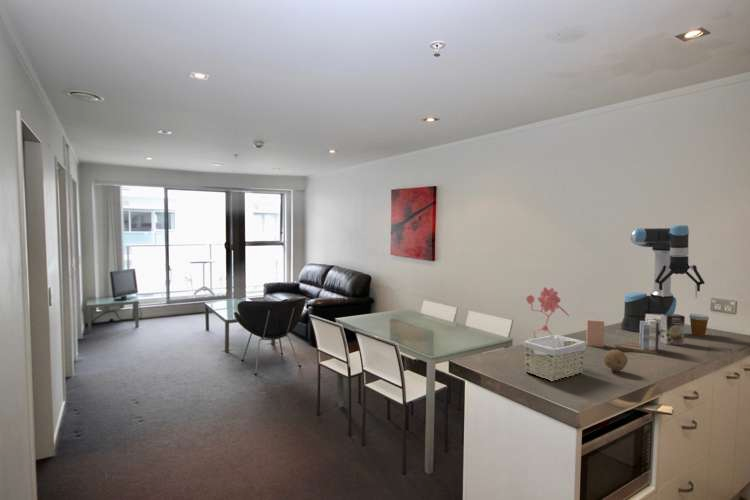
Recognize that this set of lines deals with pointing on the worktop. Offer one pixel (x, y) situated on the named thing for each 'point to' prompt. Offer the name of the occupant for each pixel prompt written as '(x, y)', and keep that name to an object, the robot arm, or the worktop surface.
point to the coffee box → (672, 329)
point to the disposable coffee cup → (698, 324)
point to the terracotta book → (595, 332)
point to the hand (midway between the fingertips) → (679, 297)
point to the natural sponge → (615, 360)
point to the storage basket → (554, 356)
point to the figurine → (546, 303)
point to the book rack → (643, 338)
